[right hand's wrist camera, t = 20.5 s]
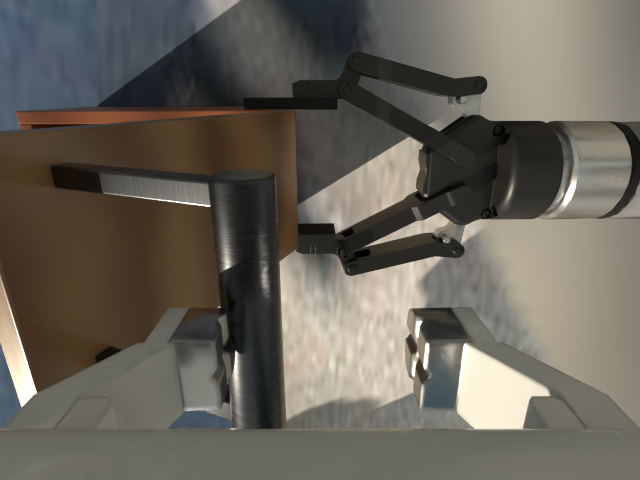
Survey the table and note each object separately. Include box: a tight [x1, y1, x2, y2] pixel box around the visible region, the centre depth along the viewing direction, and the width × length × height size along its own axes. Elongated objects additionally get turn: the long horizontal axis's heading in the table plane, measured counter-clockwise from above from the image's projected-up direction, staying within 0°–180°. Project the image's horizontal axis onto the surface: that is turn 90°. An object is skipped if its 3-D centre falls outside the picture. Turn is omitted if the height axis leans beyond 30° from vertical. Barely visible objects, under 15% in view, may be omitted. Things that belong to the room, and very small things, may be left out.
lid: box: [0, 110, 298, 429], centre depth 18 cm, size 18×9×9 cm
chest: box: [16, 106, 293, 130], centre depth 32 cm, size 18×9×10 cm, turn 90°
